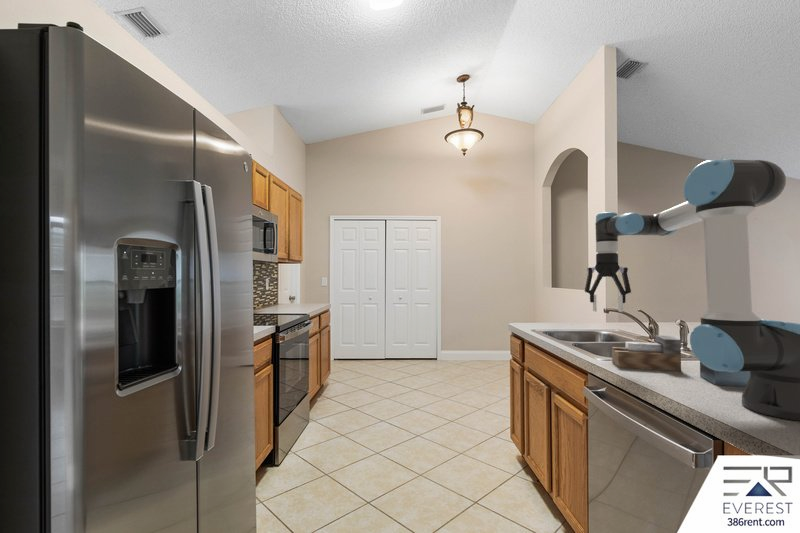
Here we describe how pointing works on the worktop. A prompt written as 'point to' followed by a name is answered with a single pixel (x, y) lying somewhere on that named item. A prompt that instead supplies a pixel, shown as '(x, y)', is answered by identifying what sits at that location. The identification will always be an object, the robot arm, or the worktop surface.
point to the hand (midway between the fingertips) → (607, 311)
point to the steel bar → (643, 347)
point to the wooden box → (651, 356)
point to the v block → (724, 377)
